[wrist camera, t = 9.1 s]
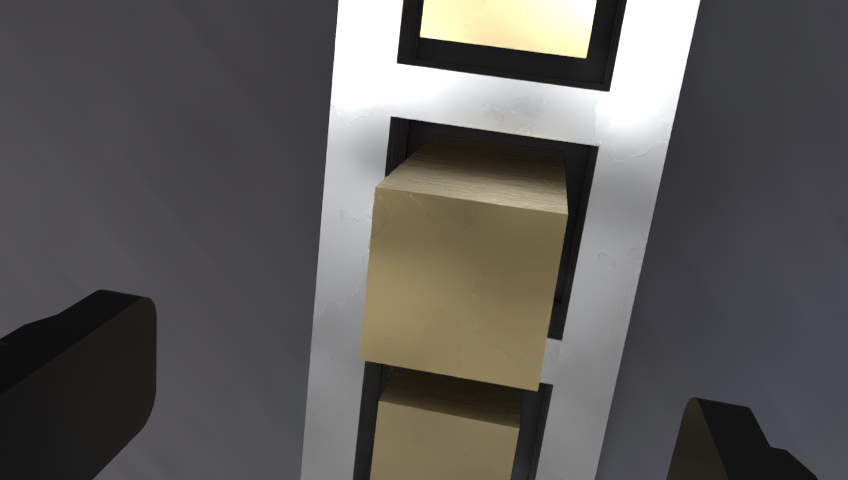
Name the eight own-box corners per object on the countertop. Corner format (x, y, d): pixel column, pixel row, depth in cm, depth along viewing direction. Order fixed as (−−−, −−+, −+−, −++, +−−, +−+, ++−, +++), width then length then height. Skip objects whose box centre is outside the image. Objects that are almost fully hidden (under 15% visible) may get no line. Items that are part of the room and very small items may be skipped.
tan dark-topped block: (434, 134, 23) (375, 186, 15) (563, 151, 22) (568, 214, 15) (421, 255, 24) (359, 359, 16) (543, 274, 23) (537, 391, 16)
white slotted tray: (385, -197, 20) (341, -255, 16) (716, -169, 19) (761, -223, 15) (323, 474, 27) (281, 555, 23) (569, 525, 26) (571, 621, 22)
